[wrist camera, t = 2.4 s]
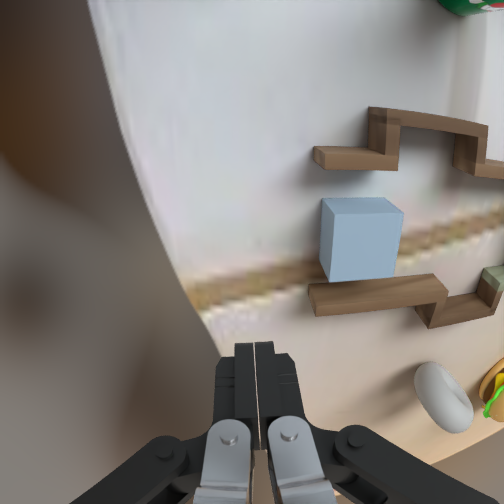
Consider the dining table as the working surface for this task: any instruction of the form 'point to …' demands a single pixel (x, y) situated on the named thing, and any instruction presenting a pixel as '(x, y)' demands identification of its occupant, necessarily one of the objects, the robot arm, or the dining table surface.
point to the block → (359, 238)
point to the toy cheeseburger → (493, 392)
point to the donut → (443, 398)
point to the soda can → (472, 6)
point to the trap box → (417, 286)
